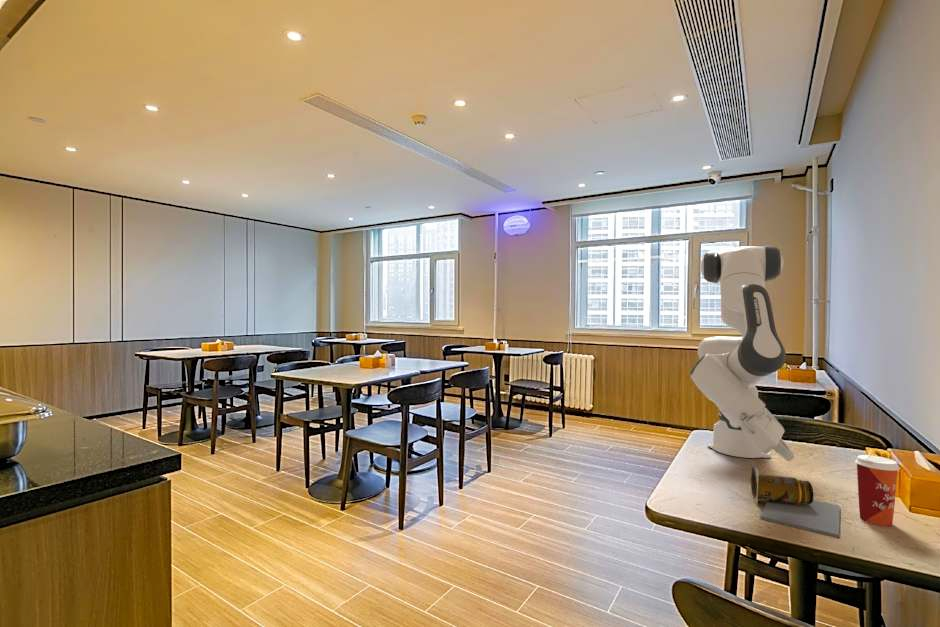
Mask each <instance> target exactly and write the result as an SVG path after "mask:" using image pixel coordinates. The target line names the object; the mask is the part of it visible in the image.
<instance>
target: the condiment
mask: <svg viewBox="0 0 940 627" xmlns="http://www.w3.org/2000/svg"><path fill="white" fill-rule="evenodd" d="M750 470H751V475H750V495H751V498H752V499H753V501H754V502H755V504H756V505H757V506H759V504H758V500H759V501H761V500H762V501H765V502H767V501H775V502H784V503H791V504H799V503H806V504H811V503H812V502H813V500H814V489H813V484H812V483H811V482H810V481H808V480H802V479H797V478H795V477H789V476H779V475H770V474H760V473H759V472H760V471H759V470H758V469H757V467H756V465H755V464H754V462H753V461H751V469H750Z"/></svg>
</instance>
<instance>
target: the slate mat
mask: <svg viewBox="0 0 940 627" xmlns="http://www.w3.org/2000/svg"><path fill="white" fill-rule="evenodd" d="M840 510H841V506H840V505H839V504H835V503H829V502H823V501H819V500H814V499H813V502H812V503H811V504H806V503H799V504H791V503H784V502H775V501H766V502H765V504H764V507H763V510H762V511H761V515H760V520H764V521H768V522H772V523H775V524H776V523H777V524H781V525H785V526H790V527H793V528H797V529H800V530H801V529H802V530H806V531H810V532H815V533H818V534H822V535H827V536H830V537H835V538H839V537H840Z"/></svg>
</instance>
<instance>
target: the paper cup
mask: <svg viewBox="0 0 940 627" xmlns="http://www.w3.org/2000/svg"><path fill="white" fill-rule="evenodd" d="M854 463H855V464H856V471H857V472H856V475H857V494H858V495H857V496H858V510H859V511H858V512H859V518H861V519H862V520H861V519H860V520H861V521H863V520H864V521H863V522H865V521H866V522H865V523H867V522H868V523H867V524H870V523H871V524H870V525H873V524H874V525H873V526H877V525H879V526H878V527H883V526H890V527H891V525H892V526H893V523H894V514H895V512H894V511H895V502H896V493H897V492H896V491H897V482H898V471H900V469H901V468H900V467H899V465H898V462H897V461H896V460H894V459H891V458H888V457H883V456H879V455H878V456H877V455H871V454H870V455H869V454H860V455H857V458H856V459H855V461H854Z"/></svg>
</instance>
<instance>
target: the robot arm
mask: <svg viewBox="0 0 940 627" xmlns="http://www.w3.org/2000/svg"><path fill="white" fill-rule="evenodd" d="M783 268H784V257H783V255H782V253H781V250H780V249H779V248H778V247H777V246H773V245H764V246H756V245H755V246H754V245H751V246H749V245H747V246H738V247H730V248H723V249H719V250H718V249H713V250H709V251H707V252H705V253H704V254H703V258H702V260H701V263H700V272H701V274H702V276H703V279H704V280H705V281H706V282H708V283H714V284H718V283H719V284H720V288H719V289H720V318H721V320H722V322H723V324H725V325H726V326H728V327H729V328H731V329H734V330H736V331H738V332H739V333H740V334H741V335H742V336H727V335H726V336H724V335H723V336H722V335H721V336H720V335H719V336H711V337H705V338H703V339H702V340H701V341H700V342H699V343H698V344H699V345H698V347H697V355H698V358H699V360H698V361H697V362H696V363H695V364H694V365H693V366H692V367H691V369H690V370H689V371H690V372H689V377H690V378H691V380H692V381H693V383H694V385H695V386H696V387H697V388H698V390H699V391H700V392H701V393H702V394H703V396H705V397H706V398H707V399H708V400H709V401H711V402H713V403H714V404H715V405H716V406H717V409H718V419H719V420H718V421H717V422H715V423H714V424H713V431H712V432H713V433H712V436H713V437H712V442H710V443H708V444H707V446H708V447H707V448H709V447H710V448H709V449H711V448H712V450H714V451H716V452H718V453H721V454H723V455H728V456H732V457H738V458H747V459H749V458H751V459H756V458H759V459H760V458H764V459H765V458H767V459H771V458H772V455H771V451H772V450H773V451H774V452H775V453H777V454H778V455H780V456H781V457H782V458H784V460H786V461H787V462H790V461H792V460H793V459H794V458H795V453H794V452H793V451H792V449H790V447H789V446H788V444H787V443H786V442H785V440H783V439H782V437H783V435H784V434H785V432H786V431H785V429H784V426H783V425H782V424H781V423H780V422H779V420H778V419H777V418H776V417H775V415H773V414H772V413H771V412H770V411H769V409H768V408H767V407H766V403H765V402H764V401H763V400H762V399H761V398H759V390H758V388H757V387H756V385H757V384H759V383H760V382H761V381H763V380H764V379H766V378H767V377H768V376H770V375H771V374H773V373H775V372H777V371H779V370H780V369H781V368H783V366H784V365H785V363H786V360H787V359H786V358H787V353H786V348H785V347H784V344H783V343H782V341H781V339H780V337H779V335H778V333H777V328H776V324H775V318H774V314H773V306H772V302H771V298H770V295H769V293H768V291H767V289H766V282H768V281H772V280H775V279H777V278H778V277H779V276H780V275H781V273H782V270H783Z"/></svg>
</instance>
